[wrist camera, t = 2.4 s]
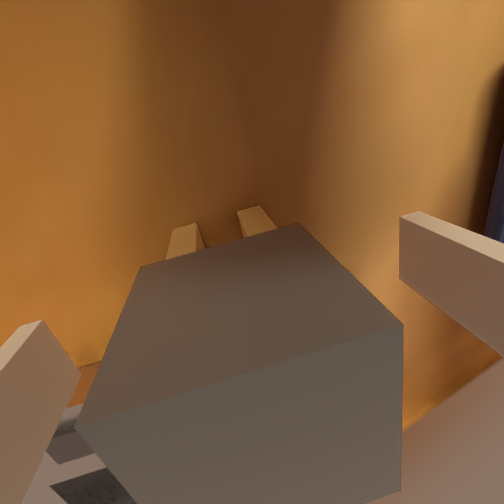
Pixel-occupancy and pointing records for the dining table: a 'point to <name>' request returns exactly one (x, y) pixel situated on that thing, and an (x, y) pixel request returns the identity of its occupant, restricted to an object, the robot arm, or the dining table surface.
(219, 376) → the plug
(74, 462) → the socket
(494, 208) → the flower pot
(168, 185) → the dining table surface
